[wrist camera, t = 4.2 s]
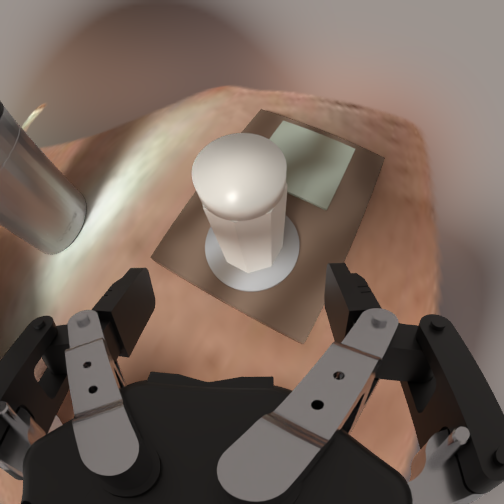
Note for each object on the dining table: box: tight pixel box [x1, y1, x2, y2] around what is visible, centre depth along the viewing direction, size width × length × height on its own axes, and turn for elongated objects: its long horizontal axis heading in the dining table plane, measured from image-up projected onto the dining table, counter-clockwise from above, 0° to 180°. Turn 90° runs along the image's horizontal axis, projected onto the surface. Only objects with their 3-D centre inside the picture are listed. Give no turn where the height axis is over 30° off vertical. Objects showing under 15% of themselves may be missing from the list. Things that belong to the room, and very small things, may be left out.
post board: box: [151, 109, 385, 344], centre depth 24 cm, size 16×22×9 cm
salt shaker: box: [192, 133, 288, 273], centre depth 20 cm, size 5×5×11 cm
